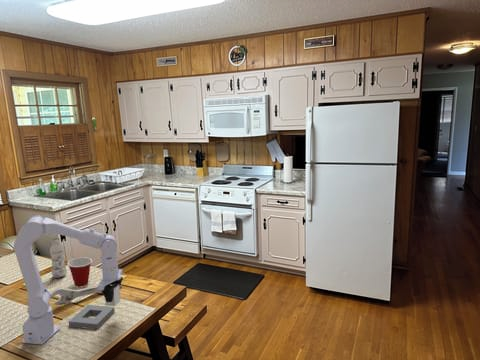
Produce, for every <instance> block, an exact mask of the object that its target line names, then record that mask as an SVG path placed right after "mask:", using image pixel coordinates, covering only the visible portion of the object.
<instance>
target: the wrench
mask: <svg viewBox="0 0 480 360" xmlns="http://www.w3.org/2000/svg"><path fill="white" fill-rule="evenodd" d="M122 286H123V283H122V282H121V285H120V289H121V288H122ZM99 293H102V292H101V290H98V286H97V285H94V286H89V287H86V288H84V287H83V288H80V289H69V288H64V287H57V288H56V289H54V290H52V291H51V292H50V294H51V299H52V298H54V297H55V296H57V295H59V296H60V298H59V299H57V300H55V301H54V302H53V305H56V306H63V305H65V306H68V305H70V303H71V302H72V301H73V300H74V299H76V298H79V297H85V296H90V295H95V294H99Z"/></svg>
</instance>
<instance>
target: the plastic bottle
mask: <svg viewBox="0 0 480 360" xmlns="http://www.w3.org/2000/svg"><path fill="white" fill-rule="evenodd" d="M51 244H52V245H51V246H50V248H49V254H50V257H51V275H52V277H53V278H55V279H58V278H63V277H64V276H65V275H66V274H67V267H66V264H65V247H64V245H63V244H62V243H61V239H60V238H57V237H56V238H53V239H51Z"/></svg>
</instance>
